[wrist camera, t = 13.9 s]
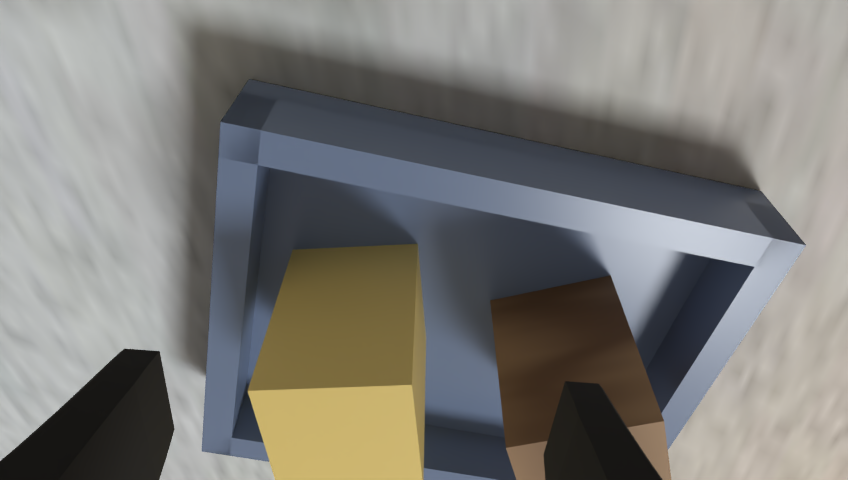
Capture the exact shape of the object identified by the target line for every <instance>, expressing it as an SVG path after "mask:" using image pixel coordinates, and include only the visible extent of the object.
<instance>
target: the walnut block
mask: <svg viewBox="0 0 848 480" xmlns="http://www.w3.org/2000/svg"><path fill="white" fill-rule="evenodd" d="M490 304H491V314H492V323H493V332H494V342H495V351H496V360H497V370H498V379H499V388H500V398H501V407H502V416H503V426H504V435H505V444H506V450H507V453H508V456H509V459H510V462H511V465H512V468H513V471H514V474H515V477H516V480H545V468H544V451H545V448H546V444H547V441H548V438H549V434H550V431H551V427H552V424H553V421H554V417H555V414H556V410H557V407H558V403H559V400H560V397H561V393H562V390H563V386H564V383H565V381H570V382H584V383H597V384H599V385H600V386H601V387H602V388H603V390H604V391H605V393H606V394H607V396H608V398H609V399H610V401H611V402H612V404H613V406H614V407H615V409H616V410H617V412H618V414H619V415H620V417H621V418H622V420H623V421H624V423H625V425H626V426H627V428H628V429H629V431H630V432H631V434H632V435H633V437H634V438H635V440H636V441H637V443H638V444H639V446H640V447H641V449H642V450H643V452H644V453H645V455H646V456H647V458H648V459H649V461H650V462H651V464H652V465H653V467H654V468H655V469H656V471H657V472H658V474H659V475H660V476H661V478H662V479H663V480H671V474H670V465H669V457H668V449H667V440H666V432H665V424H664V419H663V417H662V414H661V411H660V408H659V406H658V403H657V400H656V397H655V395H654V392H653V389H652V387H651V384H650V381H649V378H648V376H647V373H646V370H645V367H644V365H643V362H642V359H641V357H640V354H639V351H638V348H637V346H636V343H635V340H634V337H633V335H632V332H631V329H630V327H629V324H628V321H627V318H626V316H625V313H624V310H623V307H622V305H621V302H620V299H619V297H618V294H617V291H616V288H615V286H614V283H613V280H612V277H611V275H610V276H605V277H600V278H595V279H591V280H586V281H581V282H576V283H571V284H567V285H562V286H557V287H552V288H547V289H543V290H538V291H533V292H528V293H523V294H519V295H514V296H509V297H504V298H499V299H495V300H490Z"/></svg>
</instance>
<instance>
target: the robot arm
mask: <svg viewBox="0 0 848 480" xmlns="http://www.w3.org/2000/svg"><path fill="white" fill-rule="evenodd" d="M173 432H174V424H173V419H172V414H171V409H170V404H169V398H168V393H167V388H166V383H165V377H164V372H163V367H162V362H161V356H160V351H148V350H134V349H124V350H122V351H121V352H120V353H119V354H118V355H117V356H116V357H114V358H113V359H112V360H111V361H110V362H109V363H108V364H107V365H106V366H105V367H104V368H103V369H102V370H101V371H100V372H98V373H97V374H96V375H95V376H94V377H93V378H92V379H91V380H90V381H89V382H88V383H87V384H86V385H85V386H84V387H83V388H82V389H80V390H79V391H78V392H77V393H76V394H75V395H74V396H73V397H72V398H71V399H70V400H69V401H68V402H67V403H65V404H64V405H63V406H62V407H61V408H60V409H59V410H58V411H57V412H56V413H55V414H53V415H52V416H51V417H50V418H49V419H48V420H47V421H46V422H45V423H43V424H42V425H41V426H40V427H39V428H38V429H37V430H36V431H34V432H33V433H32V434H31V435H30V436H29V437H28V438H27V439H26V440H24V441H23V442H22V443H21V444H20V445H19V446H18V447H16V448H15V449H14V450H13V451H12V452H11V453H9V454H8V455H7V456H6V457H5V458H3V459H2V460H1V461H0V480H159V478H160V475H161V472H162V469H163V466H164V463H165V460H166V456H167V453H168V449H169V446H170V443H171V439H172V436H173ZM544 468H545V480H663V479H662V478H661V476H660V475H659V474H658V472H657V471H656V469H655V468H654V467H653V465H652V464H651V462H650V461H649V459H648V458H647V456H646V455H645V453H644V452H643V450H642V449H641V447H640V446H639V444H638V443H637V441H636V440H635V438H634V437H633V435H632V434H631V432H630V431H629V429H628V428H627V426H626V425H625V423H624V421H623V420H622V418H621V417H620V415H619V414H618V412H617V410H616V409H615V407H614V406H613V404H612V402H611V401H610V399H609V398H608V396H607V394H606V393H605V391H604V390H603V388H602V387H601V386H600V385H599V384H597V383H584V382H570V381H565V383H564V386H563V390H562V393H561V397H560V400H559V403H558V407H557V410H556V414H555V417H554V421H553V424H552V427H551V431H550V434H549V438H548V441H547V444H546V448H545V451H544Z"/></svg>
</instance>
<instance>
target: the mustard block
mask: <svg viewBox="0 0 848 480" xmlns="http://www.w3.org/2000/svg"><path fill="white" fill-rule="evenodd" d="M425 375H426V330H425V319H424V308H423V297H422V285H421V274H420V263H419V252H418V244H402V245H381V246H360V247H339V248H318V249H297V250H292V253H291V256H290V260H289V263H288V266H287V269H286V272H285V275H284V278H283V281H282V285H281V288H280V291H279V294H278V297H277V300H276V303H275V307H274V310H273V313H272V316H271V319H270V322H269V325H268V328H267V332H266V335H265V338H264V341H263V344H262V347H261V350H260V354H259V357H258V360H257V363H256V366H255V369H254V372H253V375H252V379H251V382H250V385H249V388H248V394H249V397H250V400H251V404H252V407H253V410H254V413H255V416H256V420H257V423H258V426H259V429H260V432H261V436H262V439H263V442H264V445H265V448H266V452H267V455H268V458H269V461H270V464H271V468H272V471H273V474H274V477H275V480H424V428H425Z"/></svg>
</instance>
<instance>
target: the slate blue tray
mask: <svg viewBox="0 0 848 480" xmlns="http://www.w3.org/2000/svg"><path fill="white" fill-rule="evenodd" d="M402 244H418V252H419V263H420V274H421V285H422V297H423V308H424V319H425V330H426V375H425V428H424V480H516V477H515V474H514V471H513V468H512V465H511V462H510V459H509V456H508V453H507V450H506V444H505V435H504V426H503V416H502V407H501V398H500V388H499V379H498V370H497V360H496V351H495V342H494V332H493V323H492V314H491V304H490V300H495V299H499V298H504V297H509V296H514V295H519V294H523V293H528V292H533V291H538V290H543V289H547V288H552V287H557V286H562V285H567V284H571V283H576V282H581V281H586V280H591V279H595V278H600V277H605V276H610V275H611V277H612V280H613V283H614V286H615V288H616V291H617V294H618V297H619V299H620V302H621V305H622V307H623V310H624V313H625V316H626V318H627V321H628V324H629V327H630V329H631V332H632V335H633V337H634V340H635V343H636V346H637V348H638V351H639V354H640V357H641V359H642V362H643V365H644V367H645V370H646V373H647V376H648V378H649V381H650V384H651V387H652V389H653V392H654V395H655V397H656V400H657V403H658V406H659V408H660V411H661V414H662V417H663V419H664V424H665V432H666V440H667V449H669V448H670V446H671V445H672V443H673V442H674V440H675V439H676V437H677V436H678V434H679V433H680V431H681V430H682V428H683V427H684V425H685V424H686V422H687V421H688V419H689V418H690V416H691V415H692V413H693V412H694V410H695V409H696V408H697V406H698V405H699V403H700V402H701V400H702V399H703V397H704V396H705V394H706V393H707V391H708V390H709V388H710V387H711V385H712V384H713V382H714V381H715V379H716V378H717V376H718V375H719V373H720V372H721V371H722V369H723V368H724V366H725V365H726V363H727V362H728V360H729V359H730V357H731V356H732V354H733V353H734V351H735V350H736V348H737V347H738V345H739V344H740V342H741V341H742V339H743V338H744V336H745V335H746V334H747V332H748V331H749V329H750V328H751V326H752V325H753V323H754V322H755V320H756V319H757V317H758V316H759V314H760V313H761V311H762V310H763V308H764V307H765V305H766V304H767V302H768V301H769V299H770V298H771V297H772V295H773V294H774V292H775V291H776V289H777V288H778V286H779V285H780V283H781V282H782V280H783V279H784V277H785V276H786V274H787V273H788V271H789V270H790V268H791V267H792V265H793V264H794V262H795V261H796V260H797V258H798V257H799V255H800V254H801V252H802V251H803V249H804V248H805V246H806V245H805V243H804V242H803V241H802V240H801V239H800V237H799V236H798V235H797V234H796V232H795V231H794V230H793V229H792V228H791V226H790V225H789V224H788V223H787V222H786V220H785V219H784V218H783V217H782V216H781V214H780V213H779V212H778V211H777V210H776V208H775V207H774V206H773V205H772V204H771V202H770V201H769V200H768V199H767V198H766V196H765V195H764V194H763V193H762V191H758V190H753V189H749V188H744V187H740V186H735V185H731V184H726V183H721V182H717V181H712V180H708V179H703V178H699V177H694V176H689V175H685V174H680V173H676V172H671V171H667V170H662V169H657V168H653V167H648V166H644V165H639V164H635V163H630V162H625V161H621V160H616V159H612V158H607V157H603V156H598V155H594V154H589V153H584V152H580V151H575V150H571V149H566V148H562V147H557V146H552V145H548V144H543V143H539V142H534V141H530V140H525V139H520V138H516V137H511V136H507V135H502V134H498V133H493V132H488V131H484V130H479V129H475V128H470V127H466V126H461V125H457V124H452V123H447V122H443V121H438V120H434V119H429V118H425V117H420V116H415V115H411V114H406V113H402V112H397V111H393V110H388V109H383V108H379V107H374V106H370V105H365V104H361V103H356V102H351V101H347V100H342V99H338V98H333V97H329V96H324V95H320V94H315V93H310V92H306V91H301V90H297V89H292V88H288V87H283V86H278V85H274V84H269V83H265V82H260V81H256V80H251V79H249V80H248V82H247V83H246V85H245V86H244V88H243V89H242V91H241V92H240V93H239V95H238V96H237V98H236V99H235V101H234V102H233V104H232V105H231V107H230V108H229V110H228V111H227V113H226V114H225V116H224V117H223V119H222V120H221V122H220V139H219V157H218V175H217V192H216V210H215V227H214V245H213V263H212V280H211V298H210V315H209V333H208V351H207V368H206V386H205V403H204V421H203V438H202V451H203V452H210V453H216V454H223V455H229V456H236V457H242V458H249V459H255V460H262V461H268V462H270V461H269V458H268V455H267V452H266V448H265V445H264V442H263V439H262V436H261V432H260V429H259V426H258V423H257V420H256V416H255V413H254V410H253V407H252V404H251V400H250V397H249V394H248V388H249V385H250V382H251V379H252V375H253V372H254V369H255V366H256V363H257V360H258V357H259V354H260V350H261V347H262V344H263V341H264V338H265V335H266V332H267V328H268V325H269V322H270V319H271V316H272V313H273V310H274V307H275V303H276V300H277V297H278V294H279V291H280V288H281V285H282V281H283V278H284V275H285V272H286V269H287V266H288V263H289V260H290V256H291V253H292V250H297V249H318V248H339V247H360V246H381V245H402Z"/></svg>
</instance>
